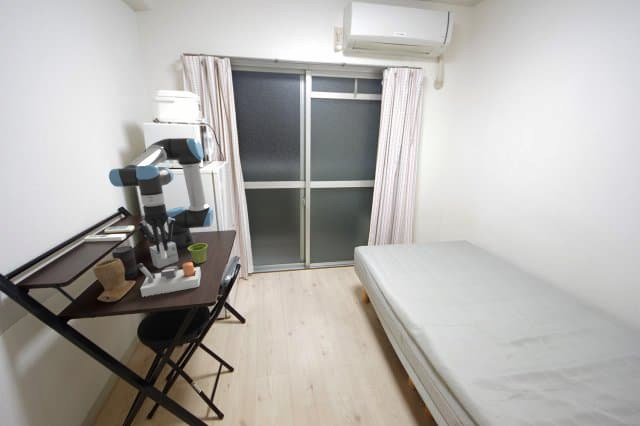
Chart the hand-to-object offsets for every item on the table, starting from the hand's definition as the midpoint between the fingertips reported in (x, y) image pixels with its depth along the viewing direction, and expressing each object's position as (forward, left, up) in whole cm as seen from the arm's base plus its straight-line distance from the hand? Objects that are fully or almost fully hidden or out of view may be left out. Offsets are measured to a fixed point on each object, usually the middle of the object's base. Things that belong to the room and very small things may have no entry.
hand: (164, 257), depth 109 cm
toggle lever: (-4, -7, -11) cm, 14 cm away
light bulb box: (-29, -7, -16) cm, 34 cm away
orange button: (-4, +8, -13) cm, 15 cm away
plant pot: (-25, +10, -16) cm, 32 cm away
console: (-4, +1, -16) cm, 16 cm away
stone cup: (-5, -22, -16) cm, 28 cm away
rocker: (-4, 0, -9) cm, 10 cm away
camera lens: (-19, -21, -16) cm, 33 cm away
